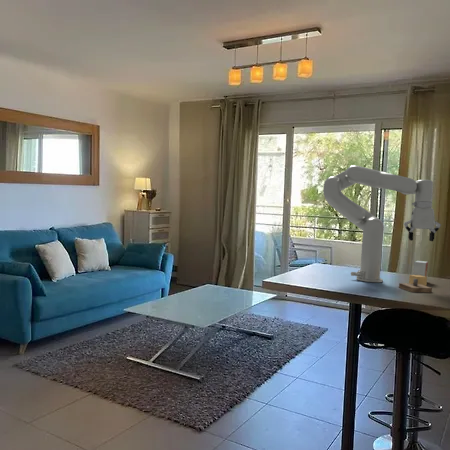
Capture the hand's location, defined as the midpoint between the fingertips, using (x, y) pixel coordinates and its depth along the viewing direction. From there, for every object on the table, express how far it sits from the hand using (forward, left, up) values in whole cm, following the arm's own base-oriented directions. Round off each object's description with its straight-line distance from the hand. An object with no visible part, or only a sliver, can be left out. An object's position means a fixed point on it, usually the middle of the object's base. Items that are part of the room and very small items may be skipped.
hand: (421, 240), depth 220 cm
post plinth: (-9, -12, -22) cm, 27 cm away
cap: (-2, -3, -22) cm, 22 cm away
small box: (+7, +9, -22) cm, 25 cm away
